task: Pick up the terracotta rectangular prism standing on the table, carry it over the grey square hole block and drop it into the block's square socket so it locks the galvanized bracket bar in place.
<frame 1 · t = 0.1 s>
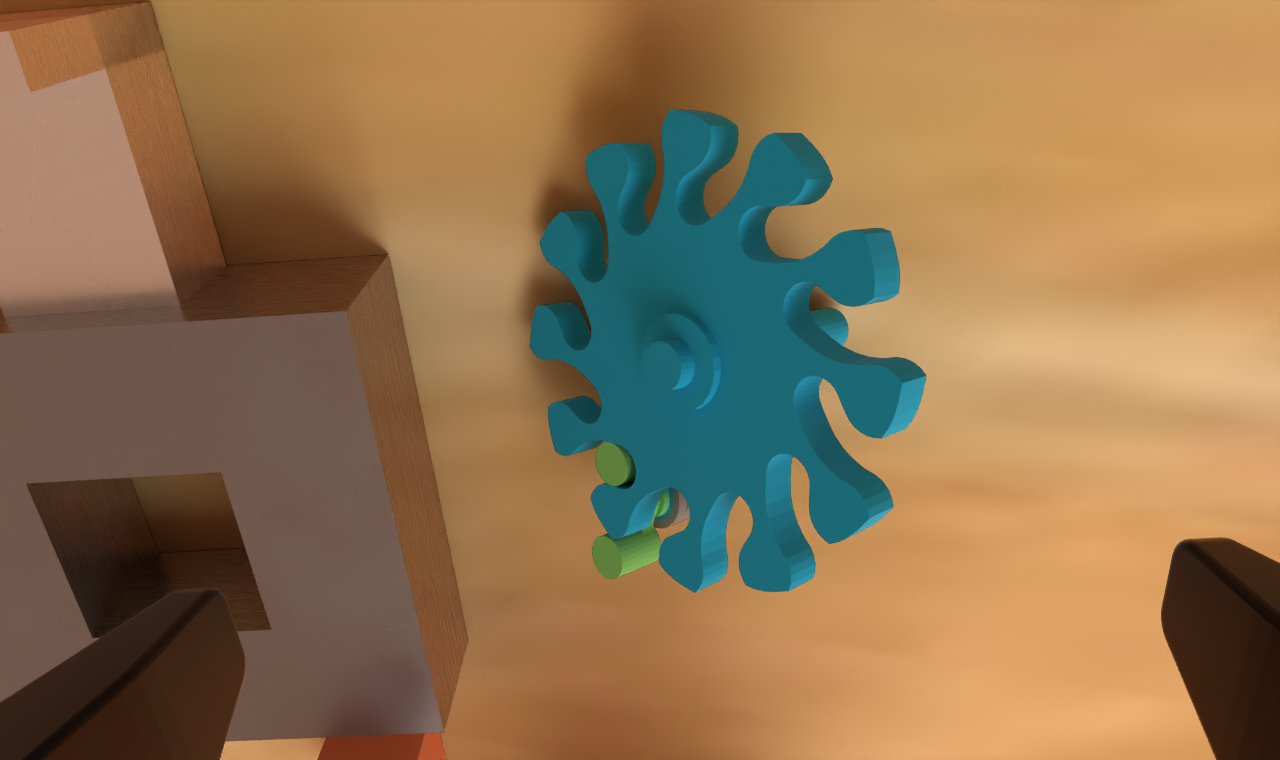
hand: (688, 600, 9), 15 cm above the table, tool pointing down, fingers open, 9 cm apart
grey square hole block: (214, 479, 26), on the table
terracotta rectangular prism: (394, 741, 30), on the table
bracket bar: (105, 148, 22), on the table
gear: (686, 307, 24), on the table
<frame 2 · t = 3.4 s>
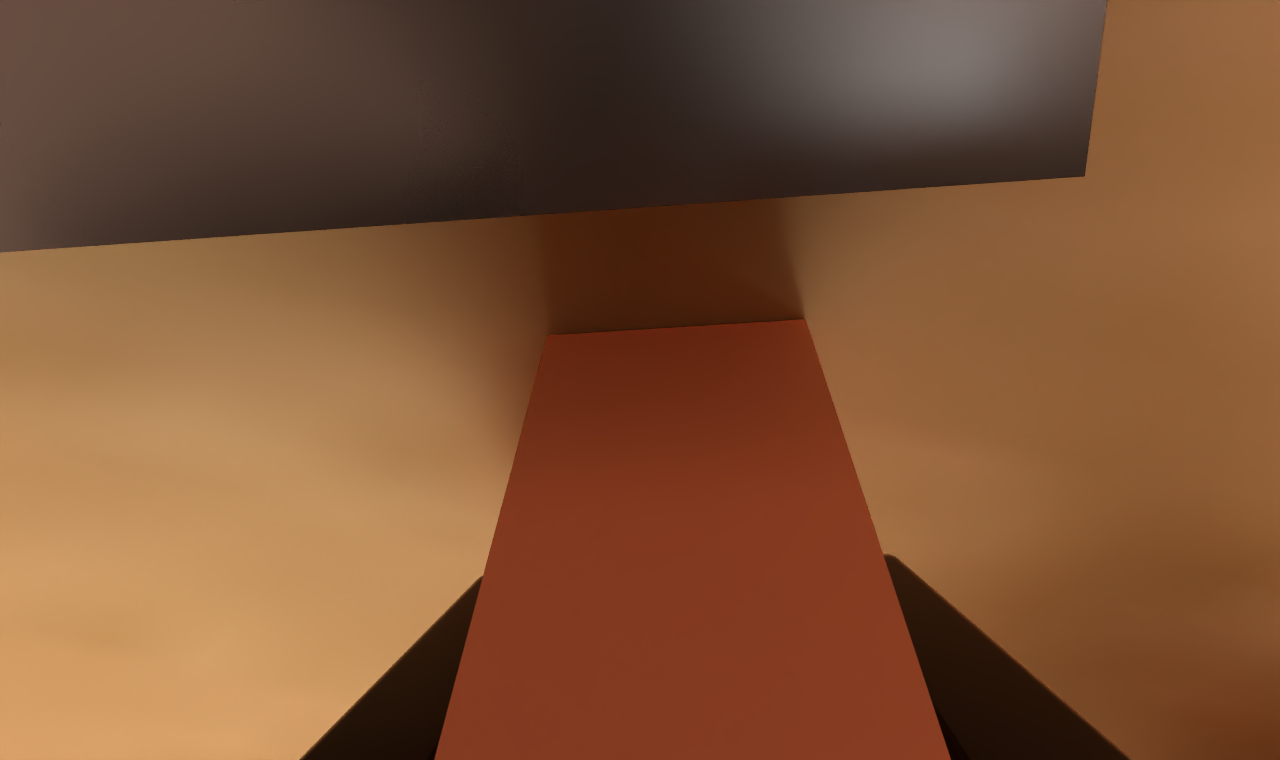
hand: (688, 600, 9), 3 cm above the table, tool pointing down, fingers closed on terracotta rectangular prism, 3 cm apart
terracotta rectangular prism: (682, 439, 12), on the table, touching gripper
when the fingers open (6 cm above the table, at t = 7.0 s): terracotta rectangular prism drops 3 cm, resting in grey square hole block.
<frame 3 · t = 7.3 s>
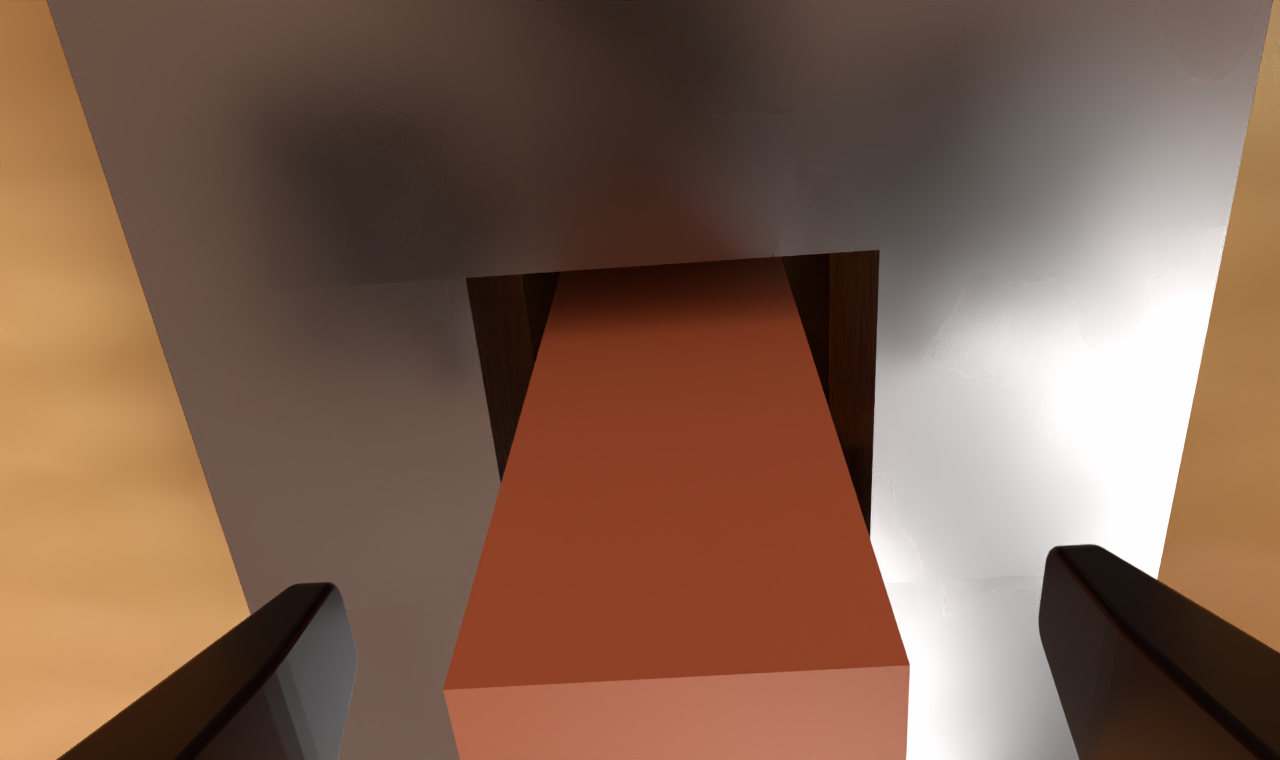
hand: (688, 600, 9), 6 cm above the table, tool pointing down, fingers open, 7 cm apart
grey square hole block: (678, 326, 15), on the table
terracotta rectangular prism: (677, 329, 15), resting in grey square hole block
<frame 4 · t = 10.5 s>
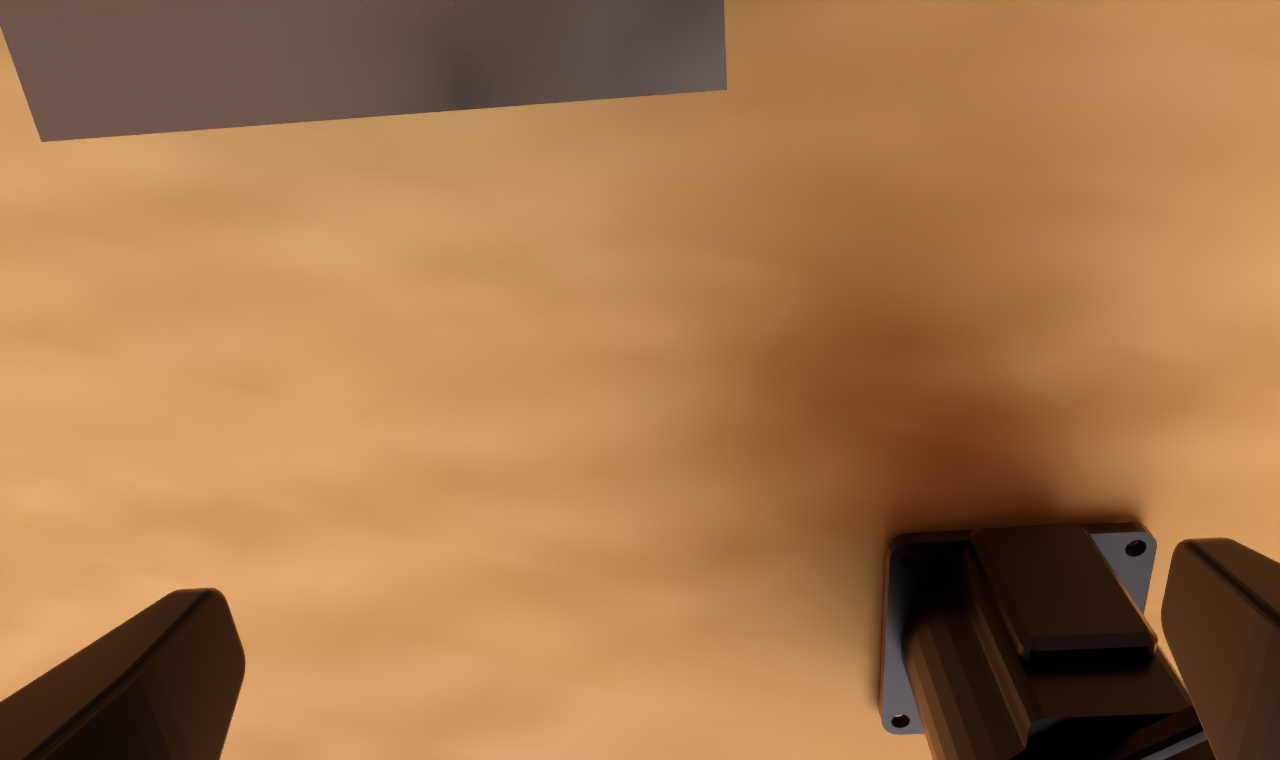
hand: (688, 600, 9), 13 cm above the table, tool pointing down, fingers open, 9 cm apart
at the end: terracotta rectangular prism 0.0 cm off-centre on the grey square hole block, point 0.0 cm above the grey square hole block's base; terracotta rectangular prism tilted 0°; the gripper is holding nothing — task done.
